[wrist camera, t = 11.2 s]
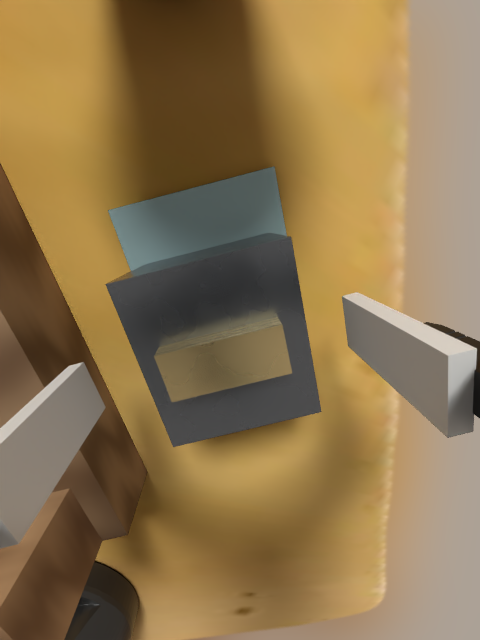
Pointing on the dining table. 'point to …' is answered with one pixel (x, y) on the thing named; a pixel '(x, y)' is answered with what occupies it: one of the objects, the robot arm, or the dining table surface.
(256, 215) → the rubber mat
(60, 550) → the plane body
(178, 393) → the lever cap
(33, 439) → the robot arm
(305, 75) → the dining table surface
